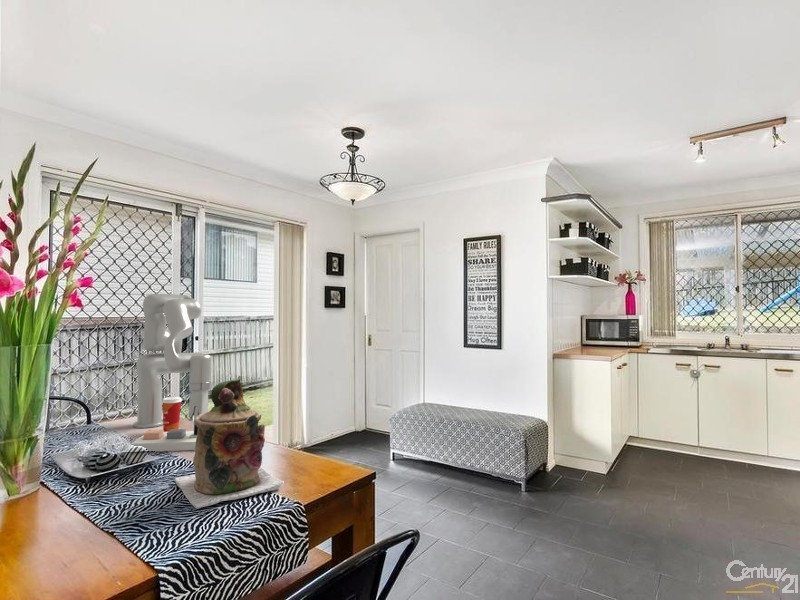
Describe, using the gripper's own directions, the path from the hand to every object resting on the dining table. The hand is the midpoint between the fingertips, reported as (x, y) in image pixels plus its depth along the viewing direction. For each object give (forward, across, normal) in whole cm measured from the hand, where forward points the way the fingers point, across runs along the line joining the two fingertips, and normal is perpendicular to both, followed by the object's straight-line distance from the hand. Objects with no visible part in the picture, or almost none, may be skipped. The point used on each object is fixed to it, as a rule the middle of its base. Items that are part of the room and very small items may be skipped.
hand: (198, 434), depth 172 cm
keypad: (+4, 0, -8) cm, 9 cm away
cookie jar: (+4, +45, +20) cm, 50 cm away
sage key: (+2, 0, 0) cm, 2 cm away
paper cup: (+4, -20, -16) cm, 26 cm away
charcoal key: (+1, 0, -8) cm, 8 cm away
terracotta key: (+1, 0, -16) cm, 16 cm away
